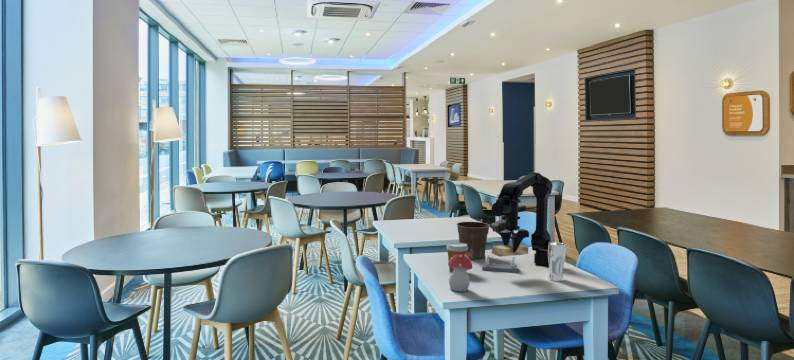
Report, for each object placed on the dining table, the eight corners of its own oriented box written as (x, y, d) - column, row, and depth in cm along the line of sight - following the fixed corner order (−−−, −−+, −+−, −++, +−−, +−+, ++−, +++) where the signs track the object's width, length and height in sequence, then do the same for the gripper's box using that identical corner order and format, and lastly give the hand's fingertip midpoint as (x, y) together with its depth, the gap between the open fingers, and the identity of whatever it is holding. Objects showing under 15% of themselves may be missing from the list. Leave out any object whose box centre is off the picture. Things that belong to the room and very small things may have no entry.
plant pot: (491, 261, 229) (492, 227, 228) (457, 260, 230) (458, 227, 228) (486, 253, 246) (486, 221, 244) (454, 252, 246) (454, 221, 245)
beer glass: (564, 278, 202) (565, 242, 201) (564, 282, 195) (565, 246, 194) (547, 276, 204) (548, 241, 203) (546, 280, 198) (547, 244, 196)
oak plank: (520, 250, 209) (520, 244, 209) (528, 254, 203) (528, 247, 203) (491, 253, 204) (491, 246, 204) (499, 256, 199) (499, 249, 198)
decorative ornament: (474, 289, 185) (475, 251, 184) (466, 294, 180) (467, 254, 178) (453, 285, 190) (453, 248, 189) (444, 289, 185) (445, 251, 184)
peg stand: (517, 268, 217) (517, 256, 216) (517, 272, 210) (517, 260, 209) (483, 266, 220) (483, 254, 220) (482, 270, 213) (482, 257, 213)
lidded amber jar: (470, 270, 213) (471, 243, 212) (464, 275, 204) (464, 247, 203) (449, 267, 217) (450, 241, 216) (442, 273, 208) (443, 245, 207)
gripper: (482, 211, 209) (482, 247, 210) (506, 218, 191) (505, 257, 192) (505, 210, 212) (504, 245, 214) (530, 216, 195) (529, 255, 196)
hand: (510, 250), depth 204 cm, fingers closed on oak plank, 6 cm apart
